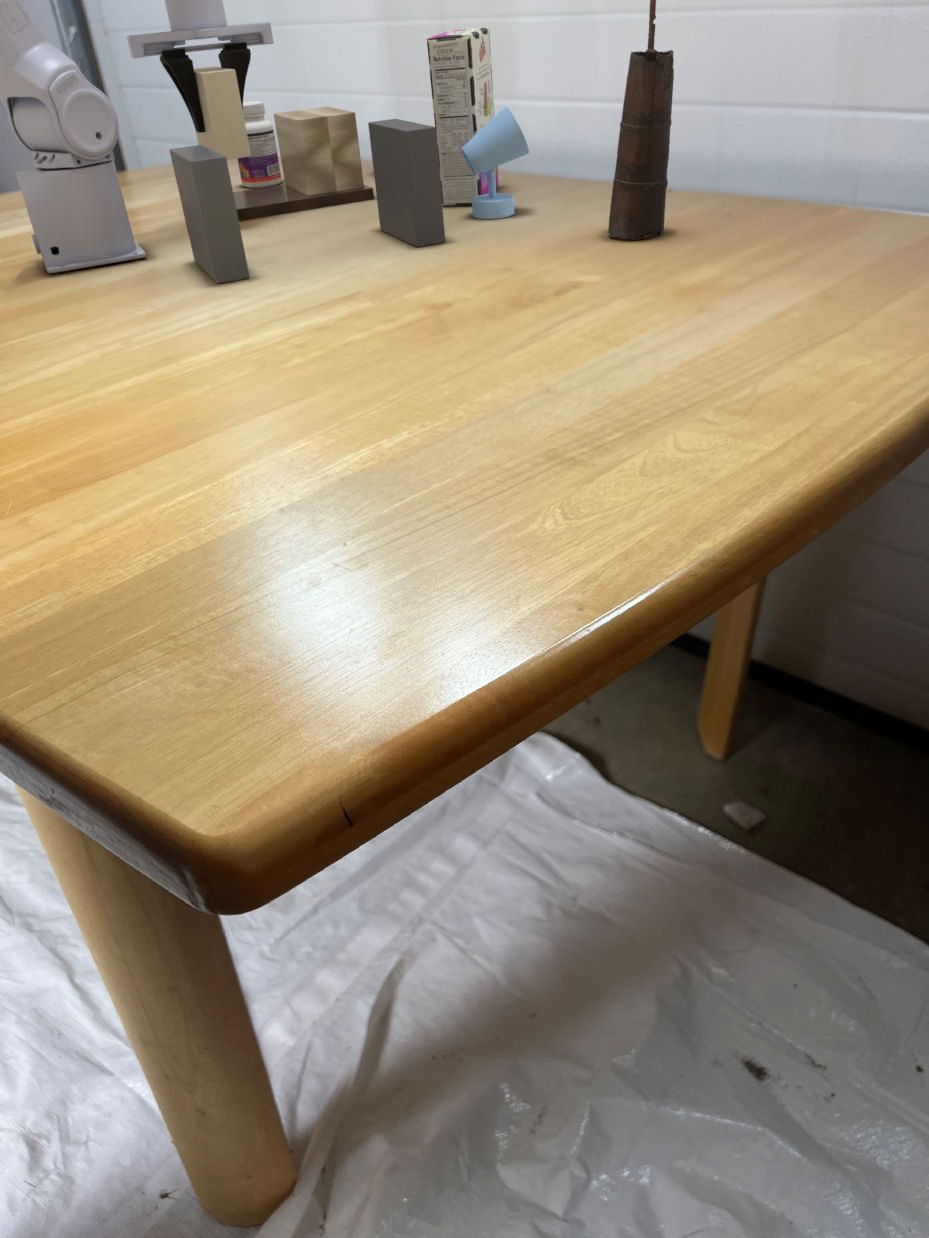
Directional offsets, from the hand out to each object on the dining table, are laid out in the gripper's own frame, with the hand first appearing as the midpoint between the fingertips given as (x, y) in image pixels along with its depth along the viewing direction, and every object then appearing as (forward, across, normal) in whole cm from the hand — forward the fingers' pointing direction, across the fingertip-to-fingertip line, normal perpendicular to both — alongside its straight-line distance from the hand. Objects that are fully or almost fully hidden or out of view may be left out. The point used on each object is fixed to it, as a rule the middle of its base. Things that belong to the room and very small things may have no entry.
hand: (219, 129), depth 100 cm
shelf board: (+9, +7, +7) cm, 13 cm away
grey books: (+9, +3, -21) cm, 24 cm away
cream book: (+2, 0, 0) cm, 2 cm away
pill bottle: (+10, +9, +23) cm, 26 cm away
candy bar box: (+10, +26, -7) cm, 29 cm away
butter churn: (+10, +29, -37) cm, 48 cm away
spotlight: (+10, +24, -18) cm, 32 cm away
